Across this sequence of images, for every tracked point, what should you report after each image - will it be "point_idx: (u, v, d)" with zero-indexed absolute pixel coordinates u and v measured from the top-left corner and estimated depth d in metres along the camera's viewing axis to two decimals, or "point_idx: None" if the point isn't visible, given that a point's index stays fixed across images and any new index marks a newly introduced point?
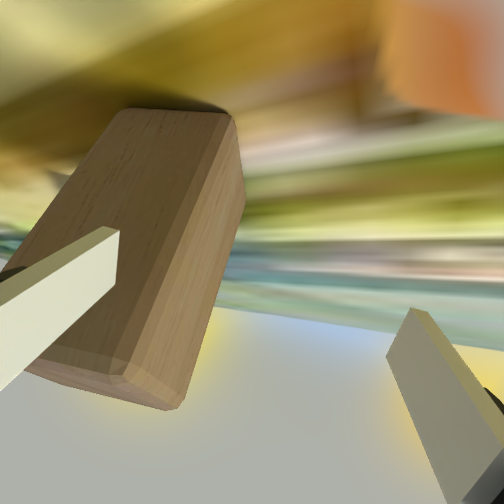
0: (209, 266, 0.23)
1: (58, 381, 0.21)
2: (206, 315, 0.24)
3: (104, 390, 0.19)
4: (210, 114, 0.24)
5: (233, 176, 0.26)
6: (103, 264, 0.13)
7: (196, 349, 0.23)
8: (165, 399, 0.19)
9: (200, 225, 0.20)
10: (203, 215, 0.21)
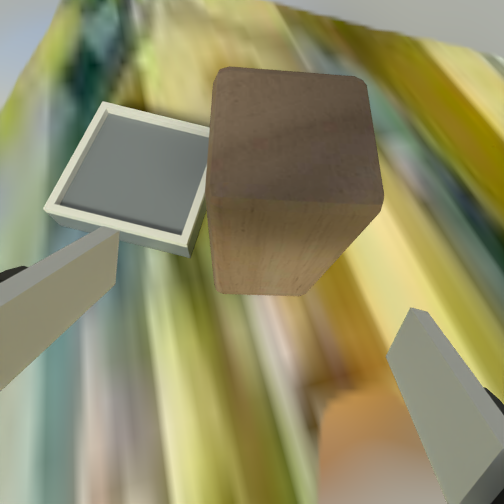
0: (269, 263, 0.25)
1: (264, 87, 0.20)
2: (237, 249, 0.23)
3: (298, 148, 0.18)
4: None
5: (276, 289, 0.32)
6: (103, 264, 0.13)
7: (233, 234, 0.20)
8: (275, 201, 0.17)
9: (318, 267, 0.26)
10: (317, 270, 0.27)
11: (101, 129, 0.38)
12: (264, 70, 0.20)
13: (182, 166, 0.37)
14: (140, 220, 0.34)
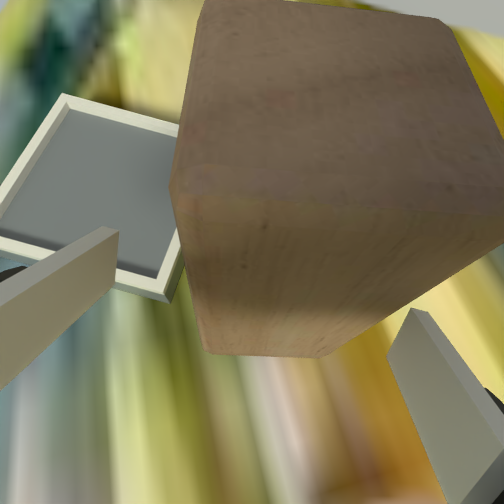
0: (284, 319, 0.16)
1: (284, 19, 0.11)
2: (233, 298, 0.13)
3: (354, 110, 0.09)
4: None
5: (288, 351, 0.23)
6: (103, 264, 0.13)
7: (226, 272, 0.11)
8: (316, 207, 0.08)
9: (360, 326, 0.17)
10: (356, 329, 0.17)
11: (58, 129, 0.29)
12: (282, 0, 0.12)
13: (163, 181, 0.28)
14: None
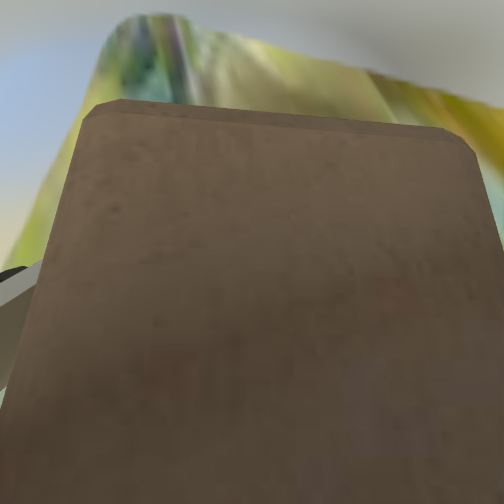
0: None
1: (205, 164, 0.07)
2: None
3: (300, 390, 0.05)
4: None
5: None
6: None
7: None
8: None
9: None
10: None
11: None
12: (212, 110, 0.08)
13: None
14: None
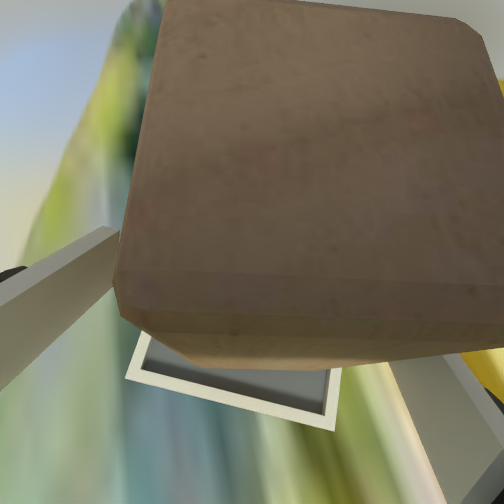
0: (271, 361, 0.14)
1: (268, 30, 0.09)
2: (212, 355, 0.12)
3: (353, 172, 0.07)
4: None
5: None
6: (103, 264, 0.13)
7: (197, 348, 0.09)
8: (298, 319, 0.06)
9: (355, 364, 0.15)
10: (351, 365, 0.16)
11: None
12: None
13: None
14: (260, 386, 0.24)
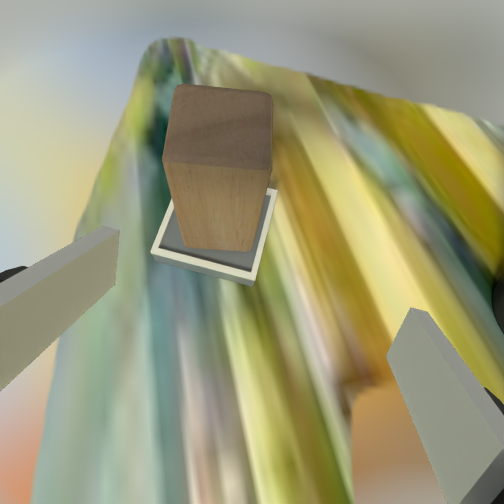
0: (213, 216, 0.37)
1: (203, 97, 0.31)
2: (188, 203, 0.34)
3: (220, 135, 0.30)
4: None
5: (226, 244, 0.44)
6: (103, 264, 0.13)
7: (183, 189, 0.32)
8: (203, 166, 0.29)
9: (249, 222, 0.38)
10: (249, 225, 0.38)
11: None
12: (205, 86, 0.32)
13: None
14: (219, 260, 0.47)
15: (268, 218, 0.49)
